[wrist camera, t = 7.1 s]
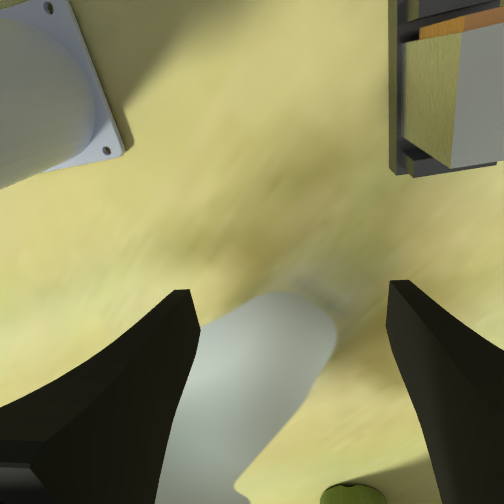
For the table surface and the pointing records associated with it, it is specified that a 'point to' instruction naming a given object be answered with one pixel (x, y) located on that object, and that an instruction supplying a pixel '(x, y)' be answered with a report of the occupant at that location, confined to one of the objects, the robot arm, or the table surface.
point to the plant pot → (352, 495)
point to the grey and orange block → (456, 89)
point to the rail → (401, 31)
